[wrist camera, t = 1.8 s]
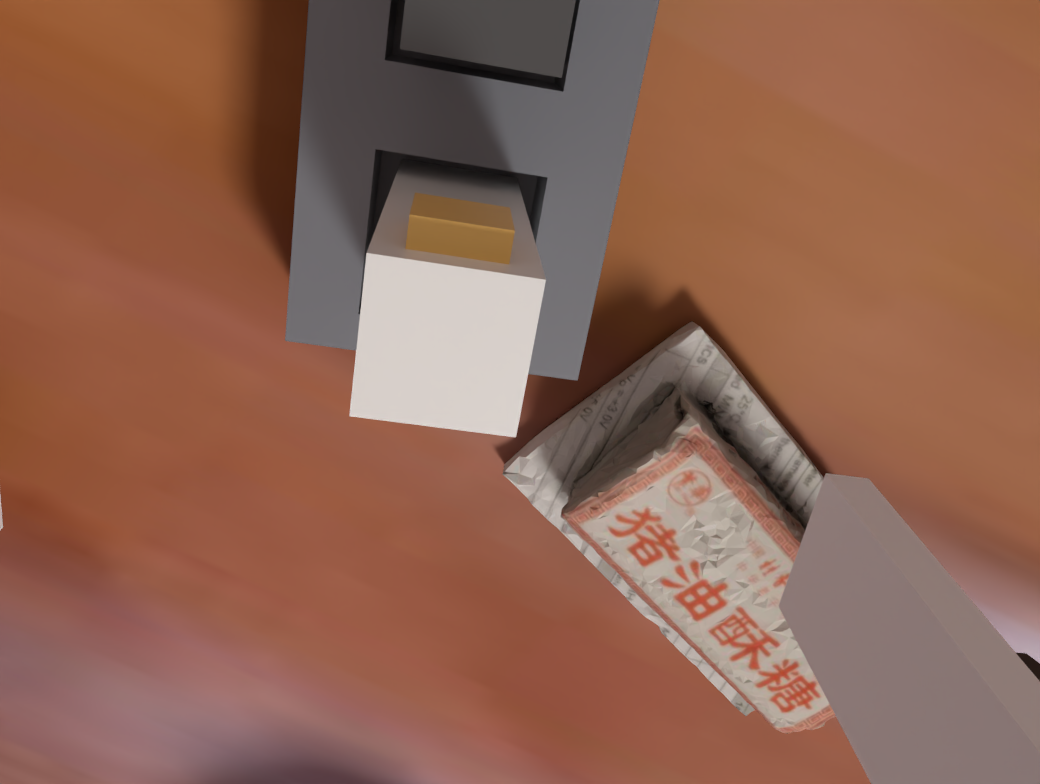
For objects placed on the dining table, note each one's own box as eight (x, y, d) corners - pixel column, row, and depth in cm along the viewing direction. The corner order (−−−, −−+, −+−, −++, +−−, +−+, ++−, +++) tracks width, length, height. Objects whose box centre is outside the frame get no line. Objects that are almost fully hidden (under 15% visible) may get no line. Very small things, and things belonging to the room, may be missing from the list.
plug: (520, 154, 30) (552, 245, 19) (498, 287, 32) (515, 437, 21) (404, 135, 30) (370, 216, 19) (388, 271, 32) (349, 416, 21)
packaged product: (968, 657, 37) (769, 780, 39) (914, 585, 41) (737, 699, 43) (723, 354, 30) (502, 521, 32) (690, 308, 35) (497, 458, 37)
